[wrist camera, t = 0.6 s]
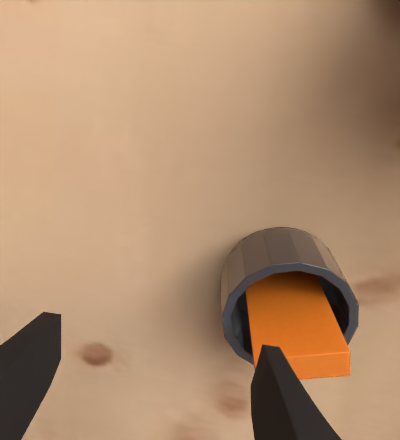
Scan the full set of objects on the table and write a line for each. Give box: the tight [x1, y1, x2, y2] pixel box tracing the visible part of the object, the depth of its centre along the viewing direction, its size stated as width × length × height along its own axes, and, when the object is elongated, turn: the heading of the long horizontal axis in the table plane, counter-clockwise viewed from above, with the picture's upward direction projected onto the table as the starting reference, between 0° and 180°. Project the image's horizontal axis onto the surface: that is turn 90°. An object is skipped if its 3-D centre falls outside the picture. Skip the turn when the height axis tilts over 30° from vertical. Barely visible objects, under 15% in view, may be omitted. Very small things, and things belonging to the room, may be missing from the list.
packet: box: [245, 271, 350, 380], centre depth 20 cm, size 1×4×7 cm, turn 99°
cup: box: [221, 227, 359, 365], centre depth 22 cm, size 7×7×4 cm
